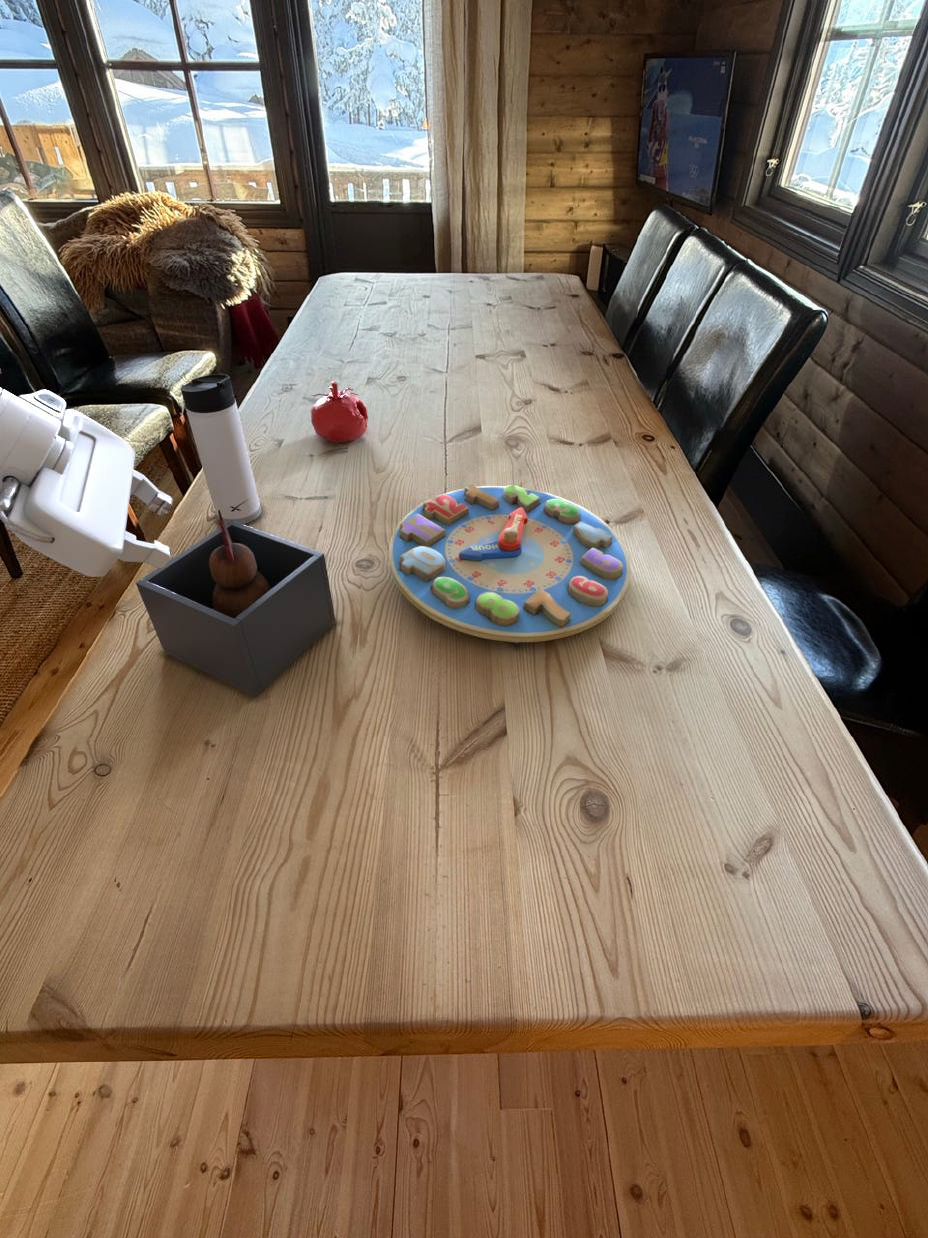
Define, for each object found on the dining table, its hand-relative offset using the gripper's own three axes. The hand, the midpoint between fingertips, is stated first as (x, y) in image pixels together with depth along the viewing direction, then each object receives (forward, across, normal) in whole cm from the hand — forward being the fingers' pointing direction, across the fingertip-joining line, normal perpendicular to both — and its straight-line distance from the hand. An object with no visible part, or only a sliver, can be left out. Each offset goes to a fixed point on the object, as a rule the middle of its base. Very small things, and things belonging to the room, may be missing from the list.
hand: (168, 532), depth 65 cm
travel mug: (+15, +27, +7) cm, 32 cm away
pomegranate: (+28, +49, -6) cm, 56 cm away
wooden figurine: (+14, 0, +6) cm, 15 cm away
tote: (+14, 0, +7) cm, 16 cm away
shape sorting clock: (+37, +3, -16) cm, 41 cm away
